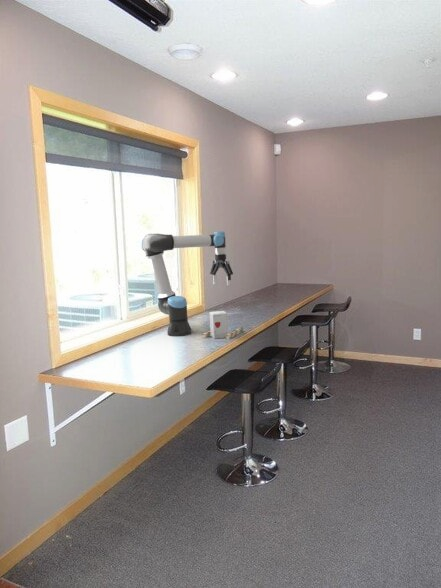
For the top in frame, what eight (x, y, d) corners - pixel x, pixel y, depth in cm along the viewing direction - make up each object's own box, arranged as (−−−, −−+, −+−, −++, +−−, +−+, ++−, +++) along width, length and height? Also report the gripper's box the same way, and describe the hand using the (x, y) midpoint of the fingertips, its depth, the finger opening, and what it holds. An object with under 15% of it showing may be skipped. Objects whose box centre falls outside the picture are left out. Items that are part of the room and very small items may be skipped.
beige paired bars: (228, 339, 272) (228, 334, 272) (203, 337, 280) (202, 333, 279) (243, 331, 292) (243, 326, 292) (218, 330, 299) (218, 325, 299)
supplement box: (213, 339, 275) (212, 314, 273) (210, 336, 284) (208, 311, 282) (228, 337, 277) (227, 312, 275) (224, 334, 286) (223, 310, 284)
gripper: (237, 253, 314) (238, 284, 316) (212, 253, 331) (213, 283, 334) (229, 254, 308) (230, 286, 311) (204, 254, 326) (205, 284, 329)
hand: (221, 284), depth 323 cm, fingers open, 13 cm apart
